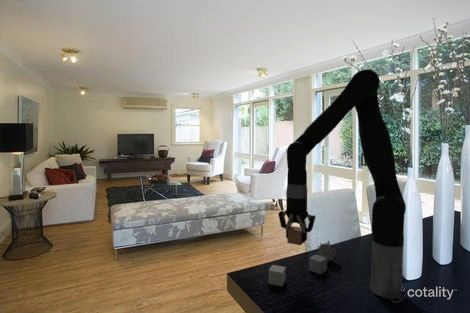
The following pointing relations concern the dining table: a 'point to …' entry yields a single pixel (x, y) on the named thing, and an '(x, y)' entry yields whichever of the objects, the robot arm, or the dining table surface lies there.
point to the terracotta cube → (295, 235)
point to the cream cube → (277, 275)
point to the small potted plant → (327, 251)
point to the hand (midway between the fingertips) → (296, 240)
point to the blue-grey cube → (317, 264)
